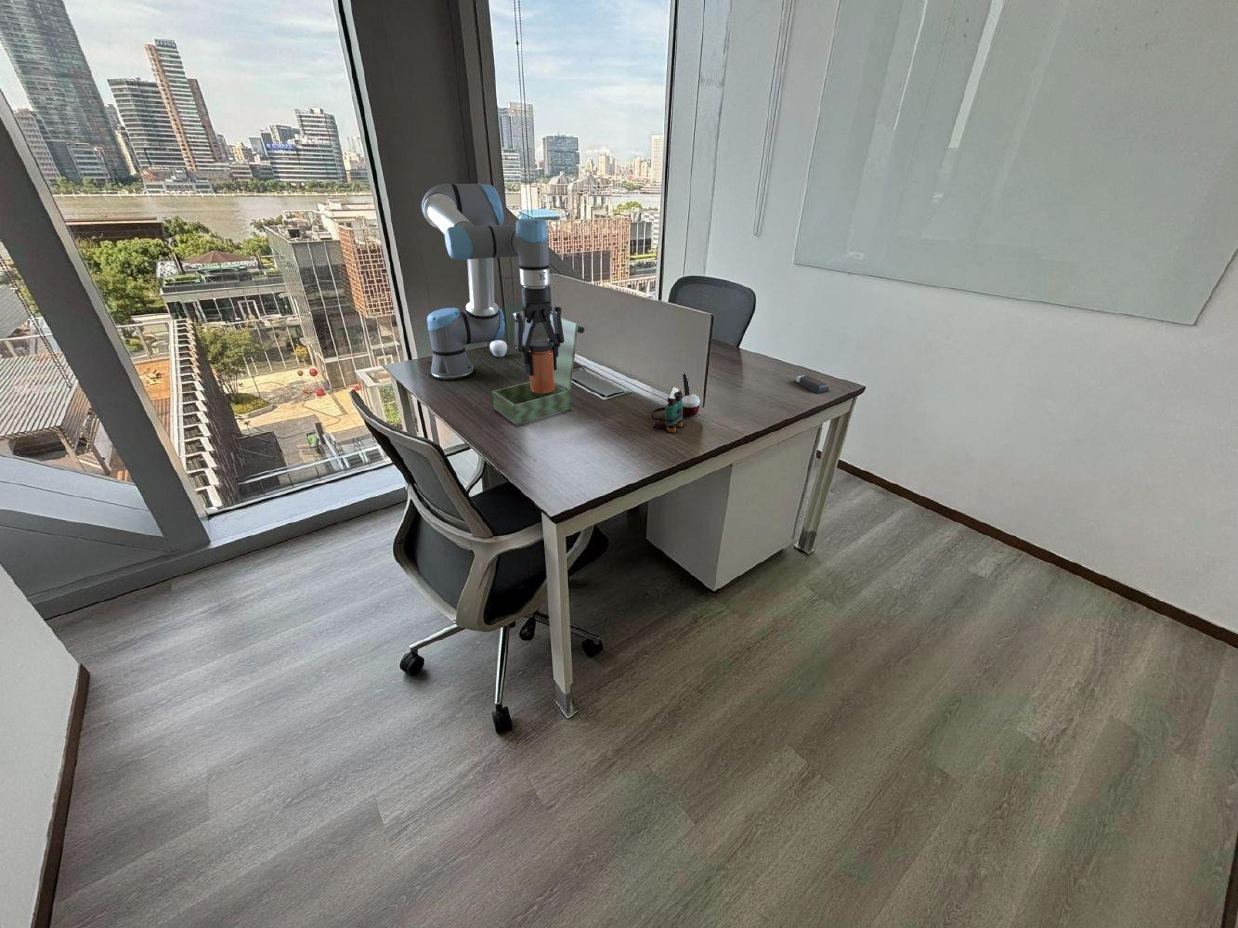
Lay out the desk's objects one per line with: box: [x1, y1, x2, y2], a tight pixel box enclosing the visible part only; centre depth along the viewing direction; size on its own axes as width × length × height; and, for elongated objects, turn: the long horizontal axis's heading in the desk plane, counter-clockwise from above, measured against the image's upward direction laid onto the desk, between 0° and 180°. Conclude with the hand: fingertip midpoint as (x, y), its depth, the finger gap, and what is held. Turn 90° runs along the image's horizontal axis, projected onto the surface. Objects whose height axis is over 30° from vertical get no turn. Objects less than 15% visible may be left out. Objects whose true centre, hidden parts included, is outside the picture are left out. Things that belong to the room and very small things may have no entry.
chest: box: [491, 381, 571, 425], centre depth 156 cm, size 20×15×7 cm
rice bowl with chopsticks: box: [681, 373, 701, 418], centre depth 154 cm, size 10×6×12 cm, turn 173°
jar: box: [528, 338, 555, 393], centre depth 136 cm, size 7×7×13 cm
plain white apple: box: [489, 339, 508, 358], centre depth 203 cm, size 7×7×8 cm
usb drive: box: [795, 375, 830, 394], centre depth 179 cm, size 5×12×3 cm, turn 25°
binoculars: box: [650, 391, 684, 433], centre depth 147 cm, size 9×11×10 cm
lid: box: [547, 313, 585, 391], centre depth 157 cm, size 20×15×6 cm
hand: (541, 371), depth 137 cm, fingers closed on jar, 7 cm apart
